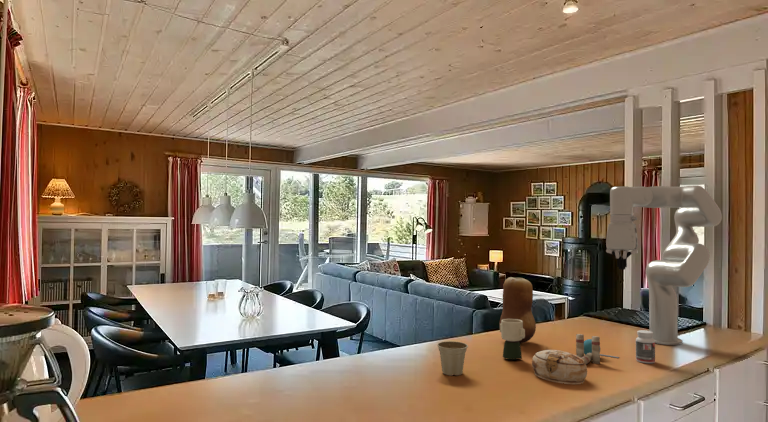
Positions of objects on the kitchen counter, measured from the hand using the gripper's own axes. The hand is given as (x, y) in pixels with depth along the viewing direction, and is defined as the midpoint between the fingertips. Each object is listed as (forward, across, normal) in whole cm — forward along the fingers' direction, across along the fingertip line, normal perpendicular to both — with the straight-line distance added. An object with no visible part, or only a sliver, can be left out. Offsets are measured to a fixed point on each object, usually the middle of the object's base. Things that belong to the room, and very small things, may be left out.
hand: (621, 269), depth 181 cm
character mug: (+29, +26, +39) cm, 55 cm away
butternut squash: (+29, +34, +16) cm, 48 cm away
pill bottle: (+29, -10, +14) cm, 34 cm away
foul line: (+29, +5, +15) cm, 33 cm away
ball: (+26, +6, +20) cm, 33 cm away
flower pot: (+29, +34, +65) cm, 79 cm away
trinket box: (+30, +7, +49) cm, 58 cm away
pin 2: (+29, +2, +26) cm, 39 cm away
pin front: (+28, +5, +24) cm, 37 cm away
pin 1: (+29, +8, +26) cm, 40 cm away
